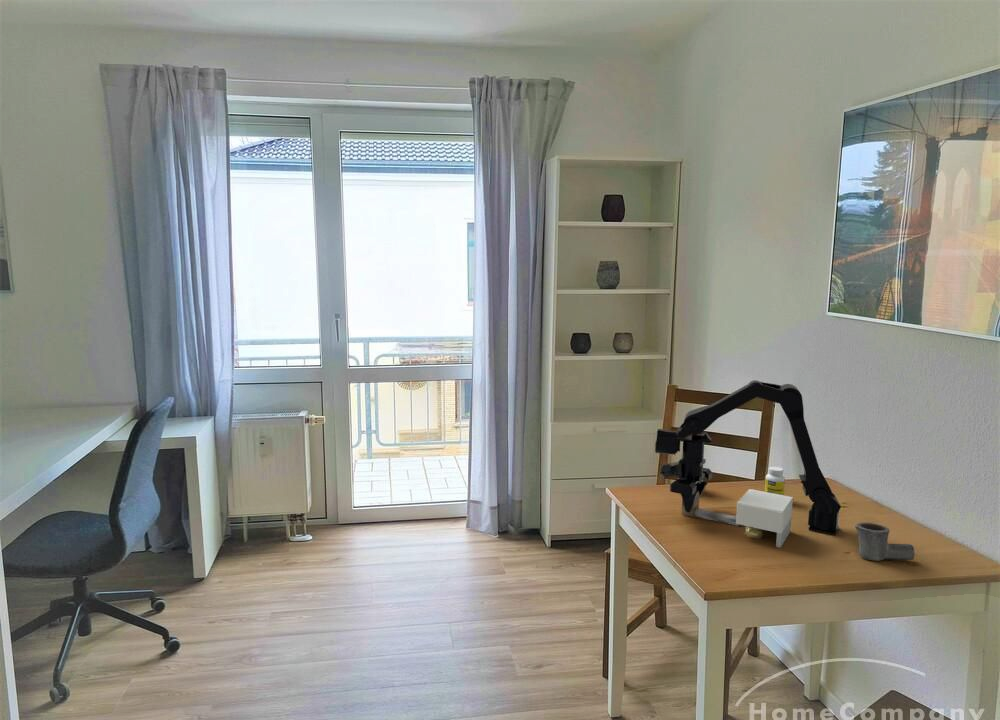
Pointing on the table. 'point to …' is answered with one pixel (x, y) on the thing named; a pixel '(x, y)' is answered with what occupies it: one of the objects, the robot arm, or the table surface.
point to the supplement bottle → (775, 481)
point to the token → (753, 532)
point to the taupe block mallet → (708, 513)
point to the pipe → (880, 544)
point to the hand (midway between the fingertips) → (690, 509)
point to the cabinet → (766, 513)
